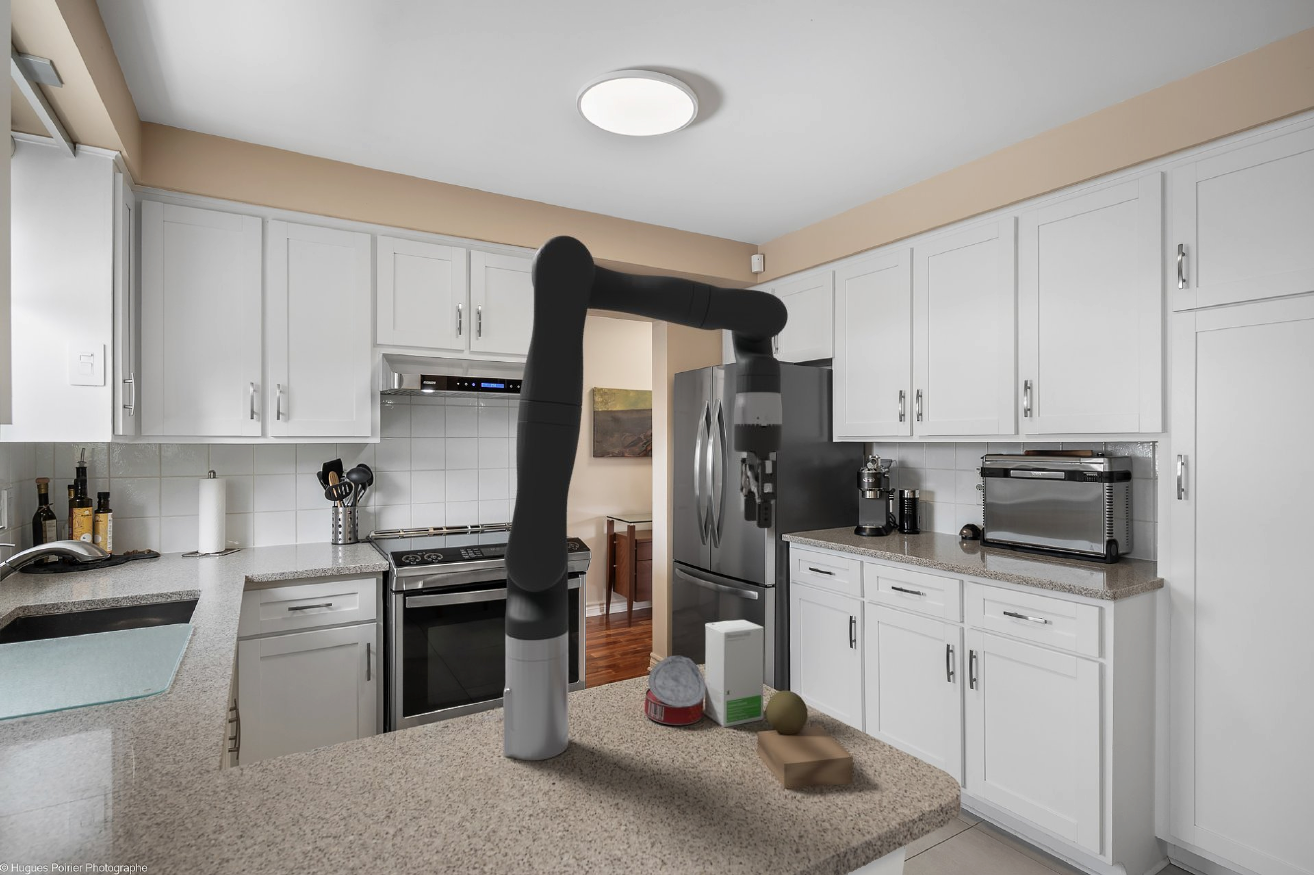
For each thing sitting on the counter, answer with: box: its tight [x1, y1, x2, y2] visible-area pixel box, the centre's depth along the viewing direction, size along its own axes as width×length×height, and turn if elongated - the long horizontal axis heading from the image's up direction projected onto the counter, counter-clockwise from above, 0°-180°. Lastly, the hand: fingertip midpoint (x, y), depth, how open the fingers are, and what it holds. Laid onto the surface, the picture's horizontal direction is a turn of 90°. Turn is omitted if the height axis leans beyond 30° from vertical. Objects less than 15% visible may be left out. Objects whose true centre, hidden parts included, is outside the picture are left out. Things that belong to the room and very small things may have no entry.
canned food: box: [644, 654, 706, 726], centre depth 113 cm, size 11×10×10 cm
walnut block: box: [757, 725, 854, 790], centre depth 95 cm, size 10×10×4 cm
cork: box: [764, 690, 808, 734], centre depth 104 cm, size 6×6×11 cm
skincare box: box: [704, 619, 765, 728], centre depth 113 cm, size 8×7×16 cm
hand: (757, 524), depth 106 cm, fingers open, 8 cm apart
